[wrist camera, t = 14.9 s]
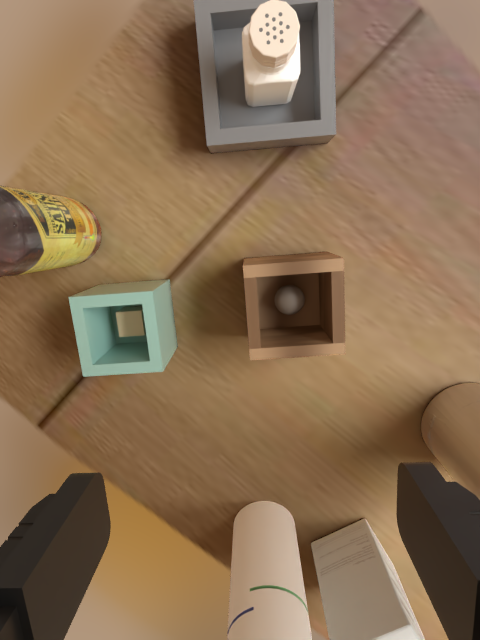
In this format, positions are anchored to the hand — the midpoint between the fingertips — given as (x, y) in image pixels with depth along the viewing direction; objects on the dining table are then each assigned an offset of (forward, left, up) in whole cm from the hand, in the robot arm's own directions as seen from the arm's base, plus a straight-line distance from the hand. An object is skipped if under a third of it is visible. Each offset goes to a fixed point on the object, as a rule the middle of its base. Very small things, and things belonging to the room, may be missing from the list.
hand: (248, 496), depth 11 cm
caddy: (-3, -19, -29) cm, 35 cm away
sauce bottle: (+17, -8, -30) cm, 35 cm away
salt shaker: (-3, -19, -29) cm, 34 cm away
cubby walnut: (-4, 0, -29) cm, 29 cm away
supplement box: (-10, +31, -30) cm, 44 cm away
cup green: (+11, +1, -29) cm, 31 cm away
